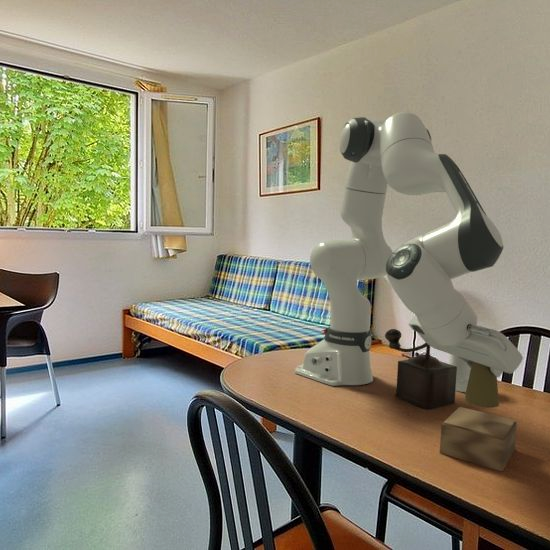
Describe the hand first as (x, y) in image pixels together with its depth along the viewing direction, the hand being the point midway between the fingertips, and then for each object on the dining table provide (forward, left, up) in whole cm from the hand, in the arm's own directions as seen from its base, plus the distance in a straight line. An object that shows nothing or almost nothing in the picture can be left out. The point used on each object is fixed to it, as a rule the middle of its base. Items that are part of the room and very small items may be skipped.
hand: (486, 369), depth 90 cm
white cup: (-13, +36, -16) cm, 42 cm away
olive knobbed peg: (0, -1, -6) cm, 6 cm away
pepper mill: (-19, +18, -16) cm, 31 cm away
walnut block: (0, -1, -16) cm, 16 cm away
